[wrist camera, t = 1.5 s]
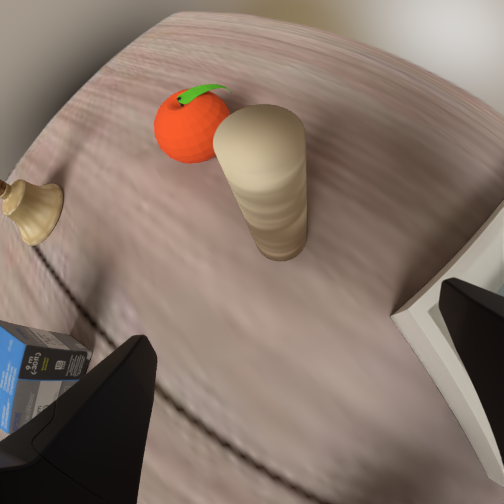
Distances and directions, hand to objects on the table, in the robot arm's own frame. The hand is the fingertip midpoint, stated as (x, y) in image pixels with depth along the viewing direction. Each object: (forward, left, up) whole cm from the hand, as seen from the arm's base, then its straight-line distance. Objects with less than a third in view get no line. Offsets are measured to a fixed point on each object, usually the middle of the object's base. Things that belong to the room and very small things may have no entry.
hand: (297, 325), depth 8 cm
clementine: (+3, +19, -14) cm, 24 cm away
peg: (+3, +7, -13) cm, 16 cm away
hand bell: (-18, +27, -14) cm, 35 cm away
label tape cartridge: (-21, +7, -14) cm, 26 cm away
